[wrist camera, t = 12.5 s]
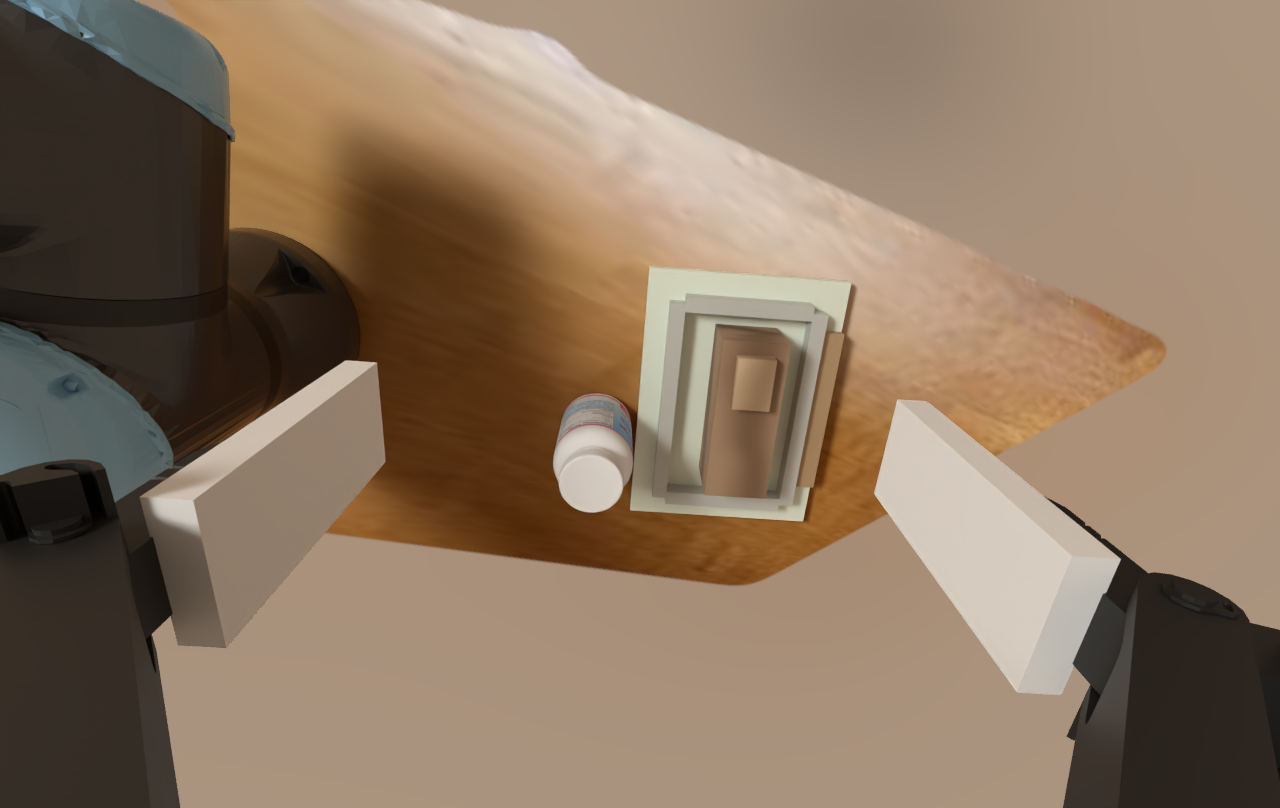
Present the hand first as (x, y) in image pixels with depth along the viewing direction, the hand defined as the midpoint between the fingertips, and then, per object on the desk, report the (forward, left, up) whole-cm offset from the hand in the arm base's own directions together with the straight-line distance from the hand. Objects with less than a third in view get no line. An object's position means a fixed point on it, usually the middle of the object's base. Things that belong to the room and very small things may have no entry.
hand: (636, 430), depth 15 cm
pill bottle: (-3, -15, -35) cm, 38 cm away
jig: (+9, -12, -35) cm, 38 cm away
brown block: (+9, -12, -34) cm, 37 cm away
